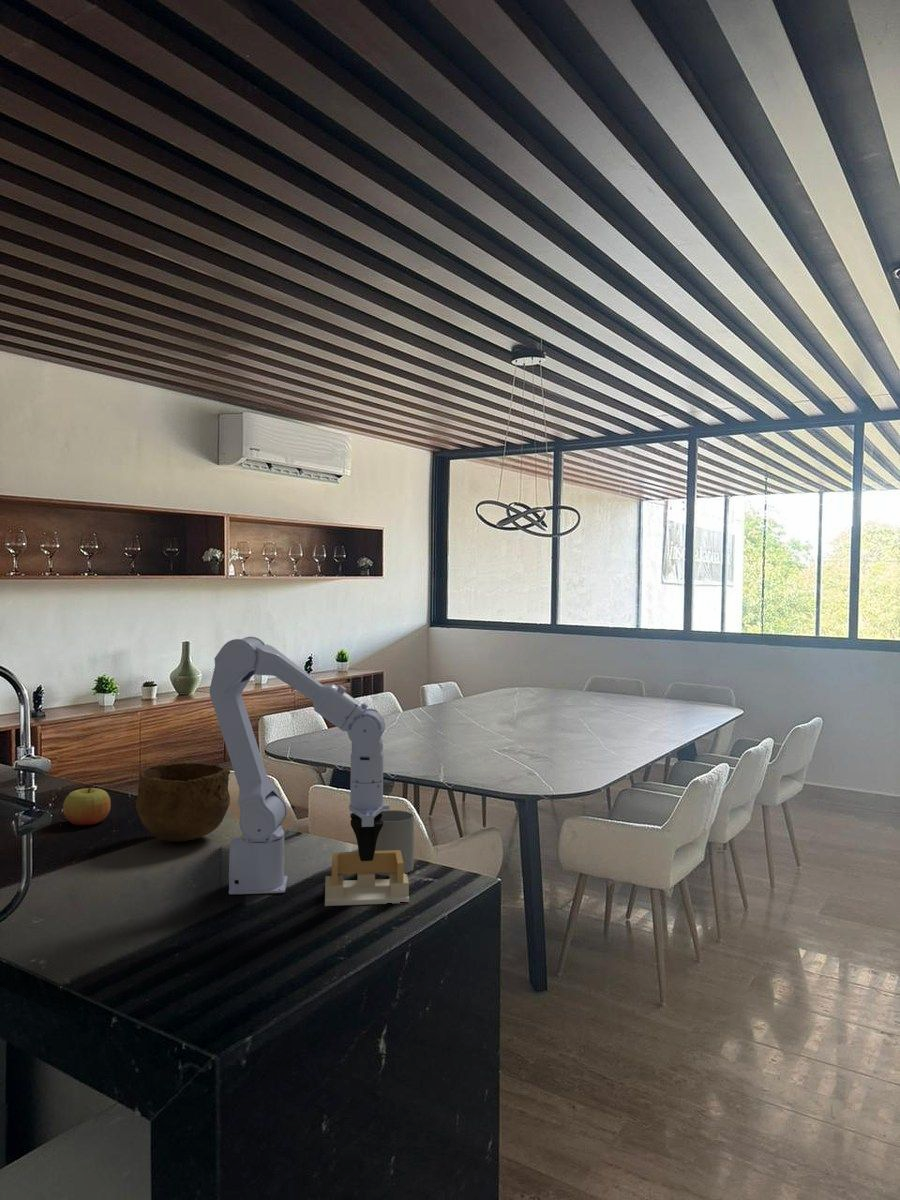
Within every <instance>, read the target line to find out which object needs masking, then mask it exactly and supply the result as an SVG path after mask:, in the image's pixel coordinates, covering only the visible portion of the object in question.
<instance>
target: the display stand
mask: <svg viewBox="0 0 900 1200" xmlns="http://www.w3.org/2000/svg"><path fill="white" fill-rule="evenodd" d="M356 874H357V880H356V879H354V880H344V875H338V886H332V875H326V876H325V883H324V885H325V887H324V907H329V906H330V907H333V906H335V907H336V906H358V905H362V906H363V905H386V904H387V903H392V904H401V903H400V902H409V903H410V891H409V890H410V882H409V878H408V873H407V874H403V883H397V878H396V874H390V875H389V876H388V877H389V878H386V879H385V878H383V879H380V878H379V879H376V874H375V873H356ZM387 905H388V904H387Z"/></svg>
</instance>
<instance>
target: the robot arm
mask: <svg viewBox="0 0 900 1200" xmlns="http://www.w3.org/2000/svg"><path fill="white" fill-rule="evenodd" d="M213 660H214V669H213V673H212V678H211V682H210V687H209V690H208V691H209V692H208V693H209V696H210V699H211V702H212V706H213V709H214V712H215V716H216V718H217V723H218V725H219V729H220V731H221V735H222V738H223V741H224V744H225V748H226V750H227V754H228V756H229V759H230V760H229V761H230V763H231V766H232V769H233V772H234V776H235V779H236V783H237V785H238V789H239V790H238V799H237V801H238V802H237V804H238V808H239V820H238V824H239V825H238V826H239V830H240V831H241V833H242V836H237V837H236V836H234V837H231V840H230V843H229V844H230V845H229V854H228V855H229V863H228V864H229V865H228V868H229V869H228V883H229V884H228V895H229V896H230V895H255V894H256V895H258V894H260V895H261V894H282V893H285V892H286V888H287V883H288V878H289V877H288V875H285V831H284V829H283V827H282V823H283V822H284V821H285V820H286V816H287V814H288V807H287V803H286V802H285V799H283V798H282V797H281V796H280V795H279V793H278V791H277V789H276V786H275V783H273V781H272V780H271V779H270V778H269V777H268V774H267V770H266V768H265V765H264V761H263V758H262V755H261V752H260V749H259V746H258V742H257V740H256V736H255V734H254V730H253V727H252V723H251V721H250V720H251V719H250V717H249V714H248V710H247V707H246V705H245V701H244V697H243V695H242V693H243V692H244V690H245V688H246V686H247V685H248V683H249V681H250V680H251V678H252V677H254V675H256V676H271V677H276V678H277V679H279V680H280V681H282V682H283V683H285V684H287V685H288V686H289V687H291V688H292V689H294V690H296V691H297V692H299V693H300V694H301V695H303V696H305V697H307V698H308V699H309V700H311V702H312V705H313V710H314V712H315V713H316V714H318V715H319V716H321V717H322V718H324V719H325V720H327V721H328V722H329V723H331V725H334V726H335V727H337V728H338V729H339V730H341V731H342V732H346V733H347V735H348V736H347V737H348V738H349V740H350V741H351V753H350V791H349V792H350V793H349V795H350V802H349V806H348V809H349V811H350V812H351V813H350V816H349V817H350V826H351V828H352V831H353V832H354V835H355V838H356V842H357V850H358V851H359V856H360V860H361V861H373V857H374V853H375V847H376V842H377V838H378V835H379V832H380V830H381V828H382V826H383V821H380V819H381V817H382V811H386V810H390V807H391V805H390V803H389V802H384V752H383V749H384V744H383V739H382V736H383V734H384V732H385V729H386V723H385V719H384V718H383V716H382V714H381V713H379V712H378V710H377V709H375V708H368V707H369V705H368V704H367V703H366V702H363V703H361V702H360V701H358V700H357V699H356V698H354V697H353V696H351V695H350V694H348V693H347V692H346V691H347V688H346V687H345V686H343V685H339V686H337V685H335V684H333V683H332V684H327V685H324V684H322V683H321V682H319V680H317V679H316V678H315V677H313V676H312V675H310V674H309V673H308V672H307V671H305V670H304V669H302V667H300V666H299V665H297V664H296V663H295V662H294V661H293V660H291V659H290V658H288V657H287V656H286V655H284V653H282V652H281V651H279V650H278V649H277V648H275V647H274V646H272V645H270V644H268V643H267V644H266V643H265V642H264V641H263V640H262V639H260V638H259V637H256V636H247V637H246V636H245V637H243V638H240V639H239V638H236V639H235V638H234V639H231V640H229V641H227V642H226V643H225V644H223V645H222V647H221V648H220V650H219V651H218V653H217V654H216V656H215V657H214V659H213Z"/></svg>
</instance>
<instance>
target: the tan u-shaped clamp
mask: <svg viewBox="0 0 900 1200" xmlns="http://www.w3.org/2000/svg"><path fill="white" fill-rule="evenodd" d="M403 870H404V863H403V859H402V855H401V850H389V851H375V853H374V857H373V861H361V860H360V856H359V850H358V851H336V852H335V851H333V852H331V876H332V886H338V876H339V875H344V874H346V875H347V874H348V875H349V874H357V873H380V872H395V873H396V878H397V883H403Z"/></svg>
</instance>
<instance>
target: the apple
mask: <svg viewBox="0 0 900 1200" xmlns="http://www.w3.org/2000/svg"><path fill="white" fill-rule="evenodd" d="M62 806H63V807H62V810H63V811H62V812H63V815H64V816H65V818H66V819H67V821H68V822H70V823H71V824H73V825H76V826H91V825H92V826H93V825H96V824H98V823H99V824H100V823H101V822H102V821H103V820H104V819H106V818H107V816H108V815H109V814H110V811H111V806H112V804H111V797H110V795H109V793H108V792H107V791H106V790H104V789H101V788H97V787H88V788H79V789H76V790H75V789H74V790H73V791H71V792H70V793H69V794H68V795H66V797H65V799H64V801H63V805H62Z"/></svg>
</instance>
